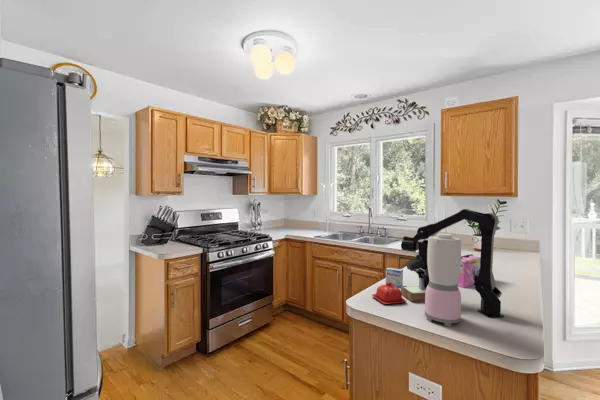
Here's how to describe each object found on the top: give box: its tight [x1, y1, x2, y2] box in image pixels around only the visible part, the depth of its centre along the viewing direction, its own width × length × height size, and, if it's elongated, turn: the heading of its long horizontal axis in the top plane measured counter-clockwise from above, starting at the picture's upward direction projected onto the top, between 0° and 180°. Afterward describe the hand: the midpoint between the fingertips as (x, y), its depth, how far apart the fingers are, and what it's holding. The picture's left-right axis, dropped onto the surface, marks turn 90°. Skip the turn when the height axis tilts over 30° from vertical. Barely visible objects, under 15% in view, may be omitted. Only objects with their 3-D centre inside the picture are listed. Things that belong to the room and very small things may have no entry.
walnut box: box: [400, 285, 425, 303], centre depth 132 cm, size 10×14×4 cm
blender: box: [424, 233, 462, 328], centre depth 110 cm, size 16×12×32 cm
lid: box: [403, 277, 426, 293], centre depth 132 cm, size 8×12×6 cm, turn 98°
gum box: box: [457, 254, 481, 289], centre depth 157 cm, size 24×8×14 cm, turn 125°
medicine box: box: [385, 267, 404, 289], centre depth 150 cm, size 8×4×9 cm, turn 62°
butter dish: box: [371, 281, 407, 305], centre depth 129 cm, size 12×12×8 cm
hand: (424, 287), depth 133 cm, fingers closed on lid
